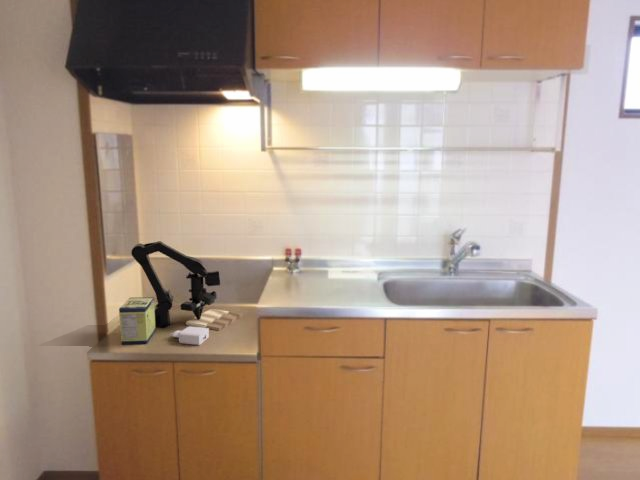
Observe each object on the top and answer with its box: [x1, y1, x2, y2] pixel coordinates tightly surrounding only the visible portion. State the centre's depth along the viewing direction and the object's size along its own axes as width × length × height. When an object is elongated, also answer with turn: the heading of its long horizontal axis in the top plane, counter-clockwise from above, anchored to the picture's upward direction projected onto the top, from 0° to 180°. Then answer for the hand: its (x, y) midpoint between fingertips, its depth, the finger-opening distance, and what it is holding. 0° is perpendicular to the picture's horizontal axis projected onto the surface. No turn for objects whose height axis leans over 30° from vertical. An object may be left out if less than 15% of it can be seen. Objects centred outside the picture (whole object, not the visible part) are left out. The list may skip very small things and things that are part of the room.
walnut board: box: [206, 311, 243, 332], centre depth 216 cm, size 20×7×2 cm, turn 160°
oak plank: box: [185, 308, 229, 328], centre depth 219 cm, size 20×10×2 cm, turn 160°
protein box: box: [118, 296, 156, 345], centre depth 196 cm, size 10×16×16 cm
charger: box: [170, 326, 210, 346], centre depth 195 cm, size 5×9×15 cm
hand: (198, 319), depth 215 cm, fingers closed, pressing on oak plank
